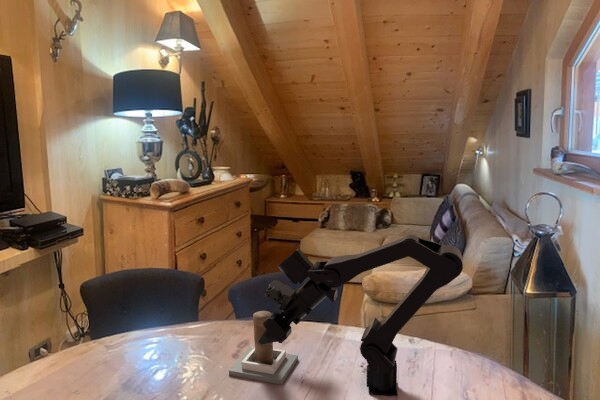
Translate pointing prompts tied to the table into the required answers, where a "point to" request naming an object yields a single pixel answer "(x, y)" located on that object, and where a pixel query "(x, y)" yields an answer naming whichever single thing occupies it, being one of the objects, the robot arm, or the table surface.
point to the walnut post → (265, 350)
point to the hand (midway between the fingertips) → (267, 334)
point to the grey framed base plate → (264, 366)
